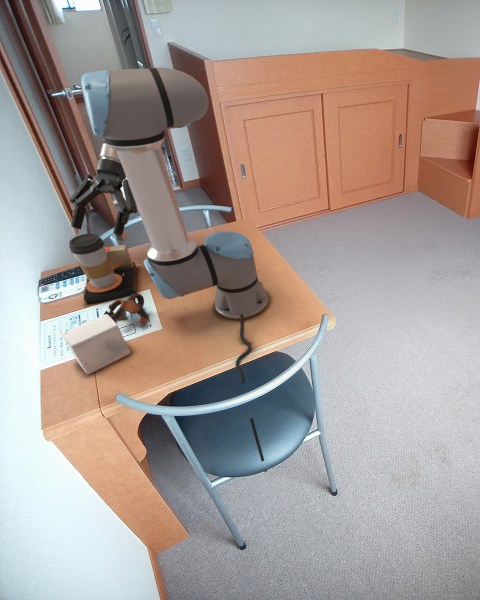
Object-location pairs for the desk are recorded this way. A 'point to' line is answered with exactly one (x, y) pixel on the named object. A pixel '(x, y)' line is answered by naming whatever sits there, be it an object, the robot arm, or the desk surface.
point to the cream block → (119, 257)
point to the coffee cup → (93, 259)
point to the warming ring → (98, 290)
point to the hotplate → (120, 291)
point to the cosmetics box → (96, 343)
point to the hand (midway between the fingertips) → (96, 231)
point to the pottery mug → (128, 309)
